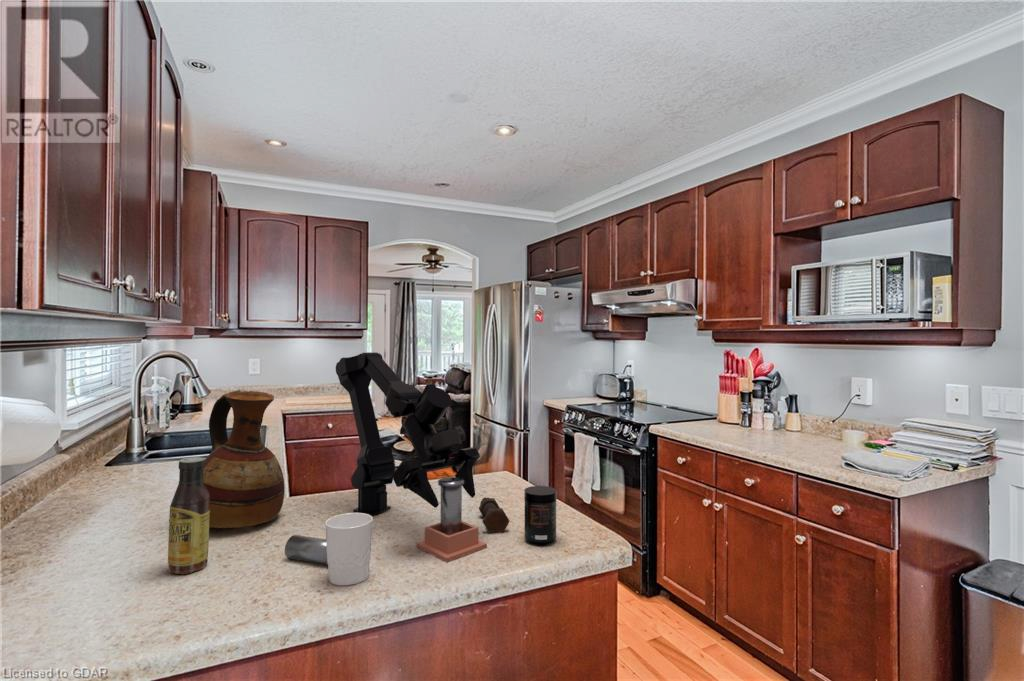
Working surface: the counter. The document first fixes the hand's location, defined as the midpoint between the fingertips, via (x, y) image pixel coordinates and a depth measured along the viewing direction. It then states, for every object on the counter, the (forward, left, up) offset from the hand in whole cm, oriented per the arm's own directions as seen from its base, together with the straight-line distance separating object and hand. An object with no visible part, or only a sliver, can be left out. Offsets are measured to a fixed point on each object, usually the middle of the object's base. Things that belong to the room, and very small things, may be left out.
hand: (456, 501), depth 102 cm
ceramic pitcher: (-52, -12, -10) cm, 54 cm away
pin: (-20, -15, -6) cm, 26 cm away
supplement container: (+13, +12, -10) cm, 20 cm away
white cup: (-9, -19, -10) cm, 23 cm away
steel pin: (-1, 0, -9) cm, 9 cm away
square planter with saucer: (-1, 0, -10) cm, 10 cm away
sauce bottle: (-37, -31, -10) cm, 49 cm away
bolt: (-2, +17, -10) cm, 20 cm away
